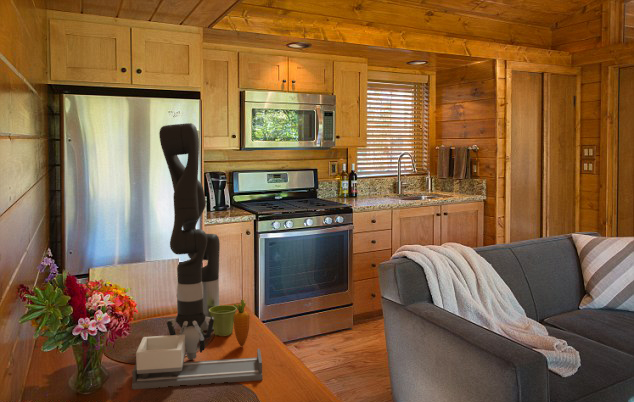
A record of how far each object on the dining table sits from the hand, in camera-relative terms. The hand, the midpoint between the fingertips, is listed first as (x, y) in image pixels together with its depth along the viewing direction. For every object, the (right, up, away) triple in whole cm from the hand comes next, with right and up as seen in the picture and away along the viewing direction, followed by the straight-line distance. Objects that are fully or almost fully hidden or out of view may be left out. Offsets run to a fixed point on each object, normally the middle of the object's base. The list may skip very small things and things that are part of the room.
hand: (191, 352), depth 153 cm
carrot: (+14, -2, +11) cm, 17 cm away
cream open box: (-5, -2, -12) cm, 13 cm away
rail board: (+5, -3, -10) cm, 12 cm away
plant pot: (+5, 0, +22) cm, 23 cm away
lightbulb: (0, -3, 0) cm, 3 cm away
